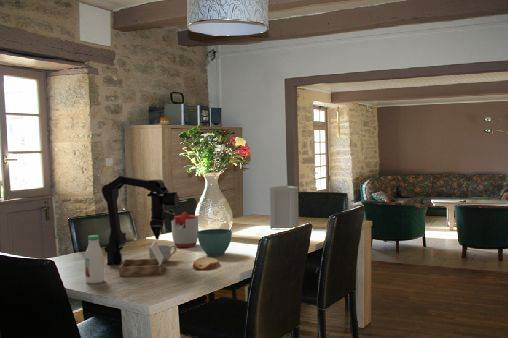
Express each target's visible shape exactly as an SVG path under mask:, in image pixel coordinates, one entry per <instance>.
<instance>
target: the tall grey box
mask: <svg viewBox="0 0 508 338" xmlns="http://www.w3.org/2000/svg"><path fill="white" fill-rule="evenodd" d="M268 190H269V194H268V195H269V228H271V229H270V230H273V229H272V228H293V227H297V226H299V225H300V223H299V218H300V217H299V187H298V186H293V185H281V186H270V187H269V188H268Z"/></svg>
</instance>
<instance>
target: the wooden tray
mask: <svg viewBox="0 0 508 338" xmlns="http://www.w3.org/2000/svg"><path fill="white" fill-rule="evenodd" d="M163 268H164V262H163V260H162V262H161V265H160V264H159V262H158V261H157V259H150V258H137V259H136V258H134V259H133V258H132V259H131V258H130V259H123V261H122V262H121V264H120V265H119V268H118V271H119V277H129V276H130V277H132V276H134V277H135V276H136V277H137V276H157V275H158V276H159V275H161V273H162V271H163Z"/></svg>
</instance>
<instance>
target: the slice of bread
mask: <svg viewBox="0 0 508 338" xmlns="http://www.w3.org/2000/svg"><path fill="white" fill-rule="evenodd" d="M219 262H220V261H219V260H218V259H217V258H214V257H210V256H203V257H202V256H201V257H198V258H197V259H196V260H194V261H193V263H192V269H194V270H195V271H198V272H205V271H209V270H213V269H216V268H218V267H219V266H220V263H219Z"/></svg>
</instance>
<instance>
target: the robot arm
mask: <svg viewBox="0 0 508 338" xmlns="http://www.w3.org/2000/svg"><path fill="white" fill-rule="evenodd" d="M124 185H127V186H132V187H137V188H143V189H146V190H147V191H148V192H149V193H147V194H146V196H147V197H148V198H149V197H150V199H151V200H150V201H151V203H150V204H151V206H150V211H151V217H150V218H151V219H150V220H149V226H150V229H151V231H152V233H153V235H154V238H155V241H157V240H159V239H160V235H161V231H162V228H163V227H164V224H165V221H166V219H167V220H170V221H171V222H172V221H173V220H174V217H175V216H176V213H175V212H174V210H173V209H169V210H165V207H164V206H166V207H178V206H179V203H180V197H179V195H178V192H177V191H172V192H171V191H169V190H168V188H167V187H166V185H165V182H164V180H162V179H143V178H138V177H132V176H128V175H126V174H125V175H119V176H118V177H117V178H115V179H113V180H112V181H111V182H109V183H107V184H104V185H103V186H102V188H101V194H102V196H103V199H104V200H105V202H106V207H107V213H108V220H109V227H110V233H109V237H108V243H107V245H106V246H105V247H104V252H105V253H106V255H107V257H106V258H107V259H106V261H107V263H106V265H108V266H109V265H121V264H122V263H123V253H122V250H123V248H124V246H125V245H126V242H127V238H126V235H127V234H126V232H123V231H122V229H121V222H120V216H119V215H120V214H119V208H118V207H119V206H118V198H119V195H120V194H119V193H120V192H119V191H120V190H121V189H122V188H123V187H124Z"/></svg>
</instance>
